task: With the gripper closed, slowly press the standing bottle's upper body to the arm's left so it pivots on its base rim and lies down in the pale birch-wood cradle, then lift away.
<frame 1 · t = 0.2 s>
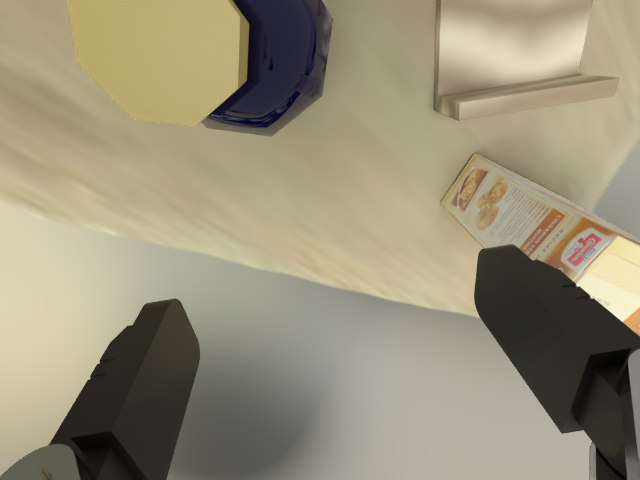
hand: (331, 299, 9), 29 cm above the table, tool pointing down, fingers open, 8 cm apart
coffeecake box: (503, 201, 42), on the table
bottle: (265, 46, 32), on the table
u rest: (511, 7, 32), on the table
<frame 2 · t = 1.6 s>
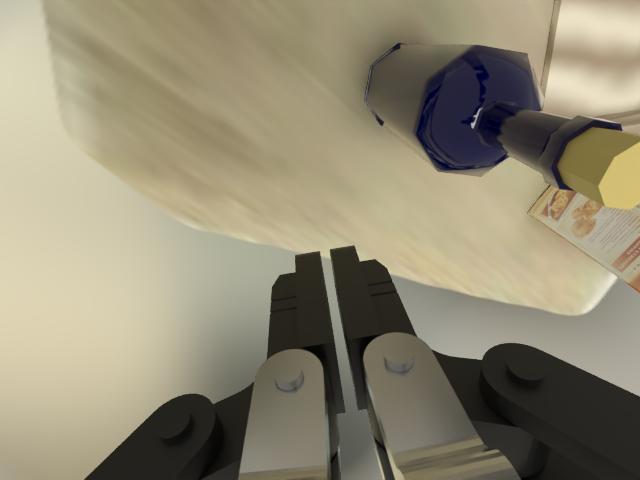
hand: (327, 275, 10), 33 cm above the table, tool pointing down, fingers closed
coffeecake box: (580, 210, 49), on the table
bottle: (403, 88, 39), on the table
u rest: (605, 55, 39), on the table
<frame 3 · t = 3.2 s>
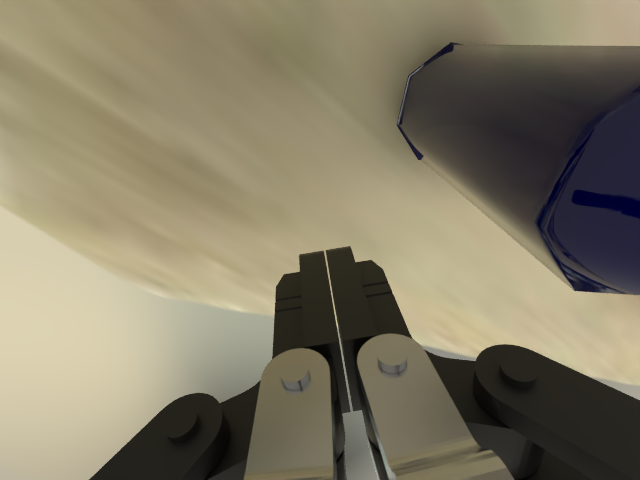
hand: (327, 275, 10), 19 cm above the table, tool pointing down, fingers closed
bottle: (453, 108, 27), on the table
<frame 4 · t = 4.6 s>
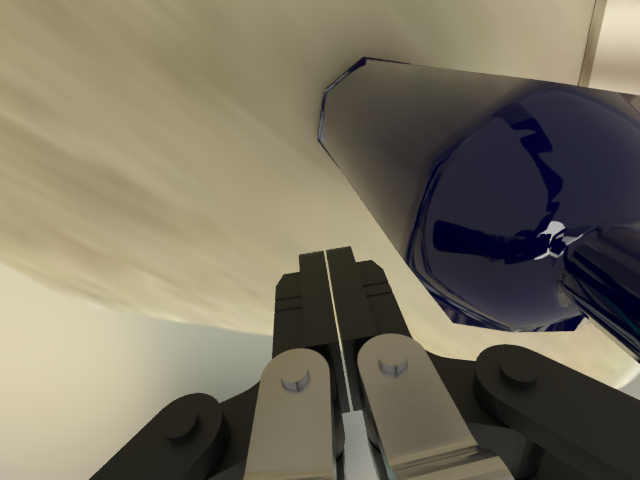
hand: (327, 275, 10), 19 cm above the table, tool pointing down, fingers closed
bottle: (374, 121, 27), on the table, touching hand
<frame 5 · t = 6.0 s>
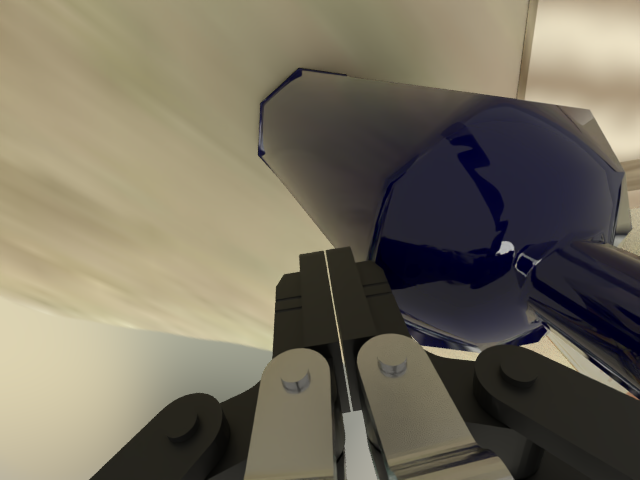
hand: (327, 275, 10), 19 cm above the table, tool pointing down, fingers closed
coffeecake box: (573, 281, 37), on the table
bottle: (315, 133, 26), point 1 cm above the table, touching gripper
u rest: (606, 81, 27), on the table
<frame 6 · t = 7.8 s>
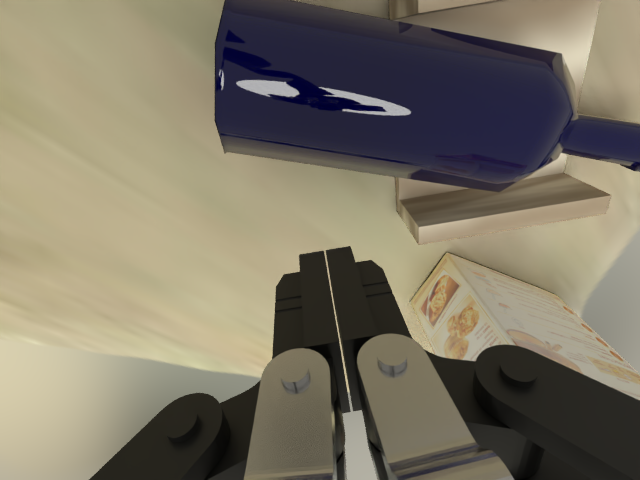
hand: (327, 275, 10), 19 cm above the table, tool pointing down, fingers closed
coffeecake box: (482, 297, 37), on the table
bottle: (229, 75, 21), point 4 cm above the table, touching u rest
u rest: (482, 103, 27), on the table
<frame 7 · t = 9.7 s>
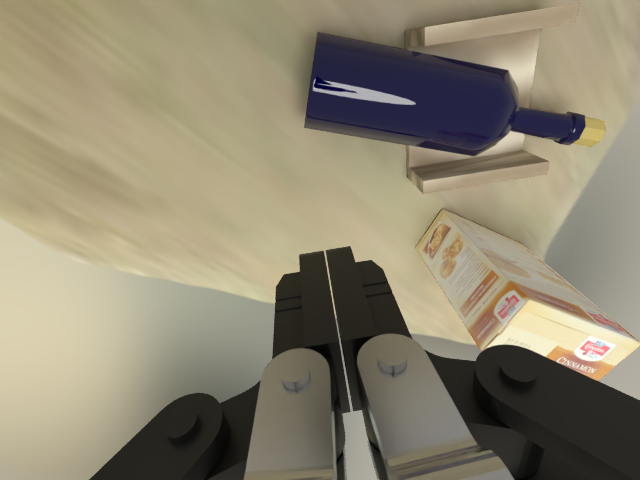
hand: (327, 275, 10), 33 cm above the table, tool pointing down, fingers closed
coffeecake box: (469, 245, 50), on the table
bottle: (309, 80, 34), point 4 cm above the table, touching u rest
u rest: (465, 101, 40), on the table
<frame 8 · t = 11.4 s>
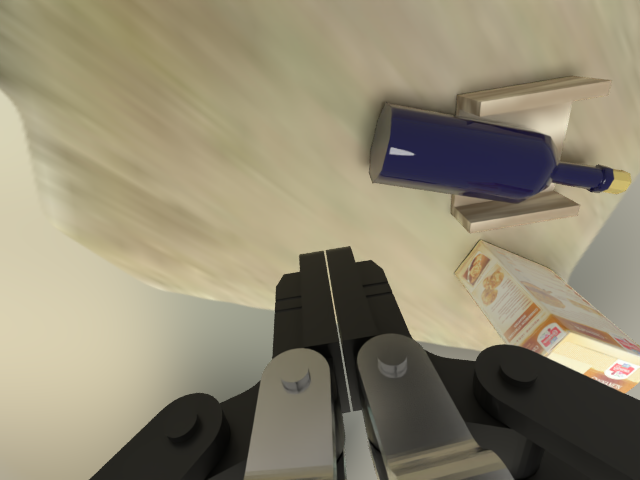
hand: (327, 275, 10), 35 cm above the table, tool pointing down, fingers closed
coffeecake box: (501, 270, 56), on the table
bottle: (377, 143, 39), point 4 cm above the table, touching u rest
u rest: (506, 150, 46), on the table
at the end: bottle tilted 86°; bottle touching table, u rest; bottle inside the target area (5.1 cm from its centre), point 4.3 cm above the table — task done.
